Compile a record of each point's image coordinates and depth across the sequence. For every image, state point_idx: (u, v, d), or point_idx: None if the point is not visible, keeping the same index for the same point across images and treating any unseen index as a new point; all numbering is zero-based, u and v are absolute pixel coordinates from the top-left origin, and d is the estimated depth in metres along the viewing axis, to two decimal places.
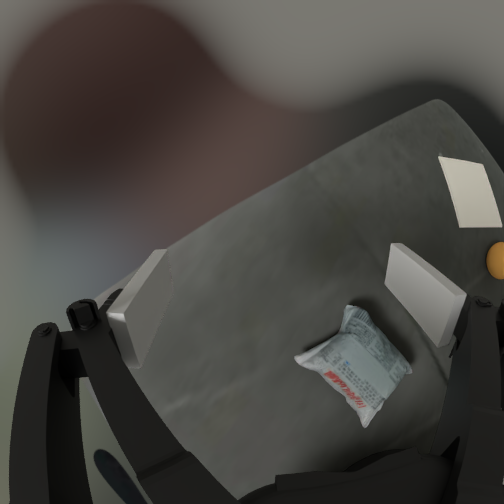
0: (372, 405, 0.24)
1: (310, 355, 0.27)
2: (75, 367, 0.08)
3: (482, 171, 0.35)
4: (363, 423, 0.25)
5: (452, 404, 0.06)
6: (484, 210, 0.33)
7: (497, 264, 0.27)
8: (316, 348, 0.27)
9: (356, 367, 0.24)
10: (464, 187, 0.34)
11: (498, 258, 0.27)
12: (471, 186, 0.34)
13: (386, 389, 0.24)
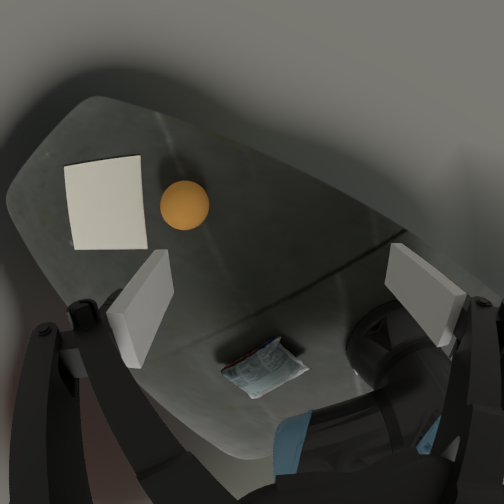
0: (293, 375, 0.38)
1: (251, 394, 0.42)
2: (75, 367, 0.08)
3: (73, 173, 0.31)
4: (308, 368, 0.40)
5: (452, 404, 0.06)
6: (121, 191, 0.32)
7: None
8: None
9: (261, 389, 0.38)
10: (99, 221, 0.33)
11: (181, 229, 0.30)
12: (95, 207, 0.33)
13: (283, 372, 0.37)
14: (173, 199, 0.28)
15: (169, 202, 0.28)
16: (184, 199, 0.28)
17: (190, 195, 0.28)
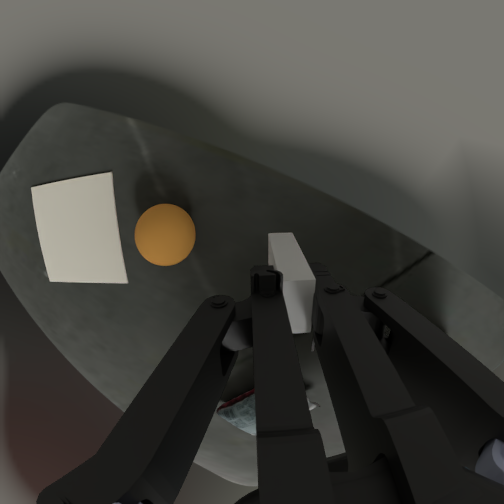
0: None
1: None
2: (250, 336, 0.10)
3: (40, 195, 0.25)
4: (316, 405, 0.33)
5: (347, 411, 0.07)
6: (93, 216, 0.26)
7: (171, 264, 0.24)
8: None
9: None
10: (72, 250, 0.27)
11: (162, 265, 0.24)
12: (66, 234, 0.26)
13: None
14: (148, 230, 0.21)
15: (143, 234, 0.22)
16: (162, 230, 0.21)
17: (169, 224, 0.22)
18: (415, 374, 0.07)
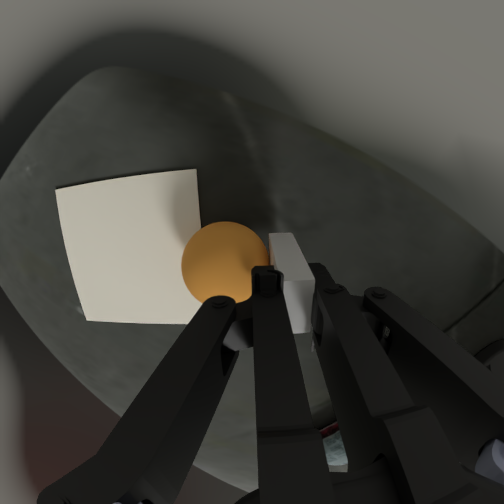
0: None
1: None
2: (250, 336, 0.10)
3: (71, 200, 0.18)
4: None
5: (347, 411, 0.07)
6: (162, 233, 0.19)
7: None
8: None
9: None
10: (124, 281, 0.21)
11: None
12: (115, 259, 0.20)
13: None
14: (183, 252, 0.17)
15: None
16: (187, 259, 0.16)
17: (196, 255, 0.15)
18: (415, 374, 0.07)
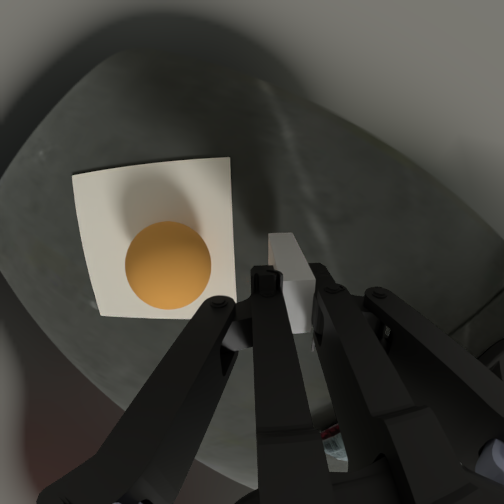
0: None
1: None
2: (250, 336, 0.10)
3: (90, 187, 0.18)
4: None
5: (347, 411, 0.07)
6: (190, 224, 0.19)
7: None
8: None
9: None
10: None
11: None
12: None
13: None
14: None
15: None
16: None
17: None
18: (415, 374, 0.07)
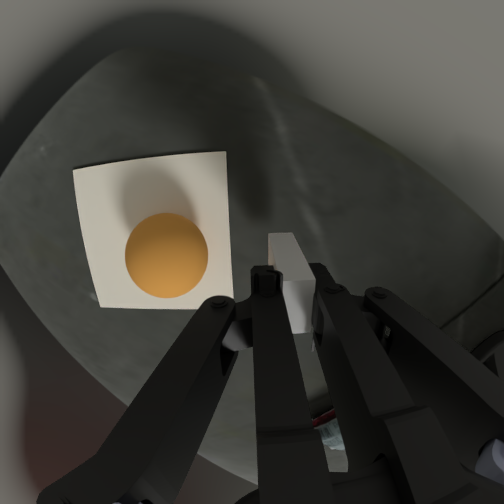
0: None
1: None
2: (250, 336, 0.10)
3: (90, 181, 0.18)
4: None
5: (347, 411, 0.07)
6: (188, 215, 0.19)
7: None
8: None
9: None
10: None
11: None
12: None
13: None
14: None
15: None
16: None
17: None
18: (415, 374, 0.07)
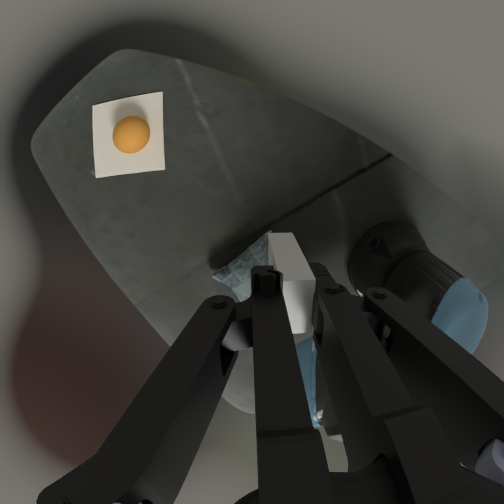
0: None
1: None
2: (250, 336, 0.10)
3: (100, 110, 0.34)
4: None
5: (347, 411, 0.07)
6: None
7: None
8: (240, 300, 0.44)
9: None
10: None
11: None
12: None
13: None
14: None
15: None
16: None
17: None
18: (415, 374, 0.07)
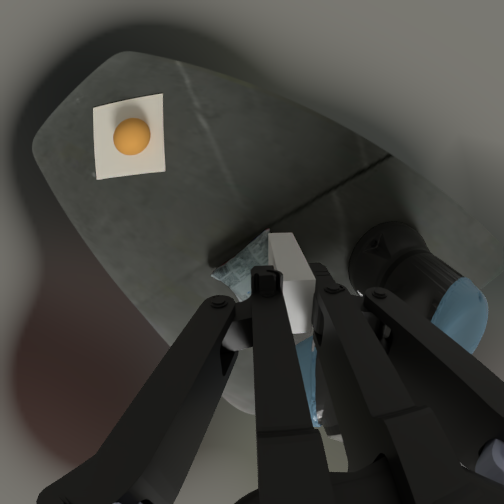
0: None
1: None
2: (250, 336, 0.10)
3: (101, 112, 0.35)
4: None
5: (347, 411, 0.07)
6: None
7: None
8: (238, 299, 0.44)
9: None
10: None
11: None
12: None
13: None
14: None
15: None
16: None
17: None
18: (415, 374, 0.07)
